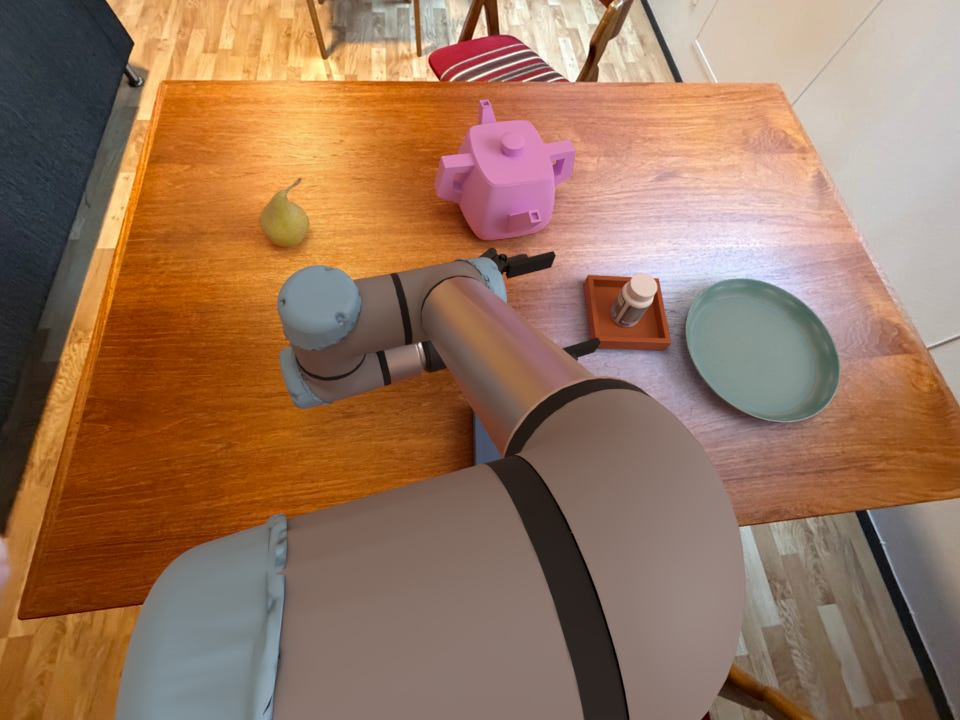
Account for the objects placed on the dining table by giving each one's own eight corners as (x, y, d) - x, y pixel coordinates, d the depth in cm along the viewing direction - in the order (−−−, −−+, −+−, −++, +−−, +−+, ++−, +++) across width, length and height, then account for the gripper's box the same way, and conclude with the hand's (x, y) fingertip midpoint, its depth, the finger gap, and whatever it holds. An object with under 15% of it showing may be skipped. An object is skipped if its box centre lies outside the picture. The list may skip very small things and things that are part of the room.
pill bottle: (644, 314, 86) (666, 284, 78) (627, 333, 84) (649, 304, 76) (620, 296, 87) (639, 265, 79) (603, 314, 85) (621, 284, 77)
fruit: (262, 226, 86) (240, 169, 75) (310, 215, 88) (295, 159, 77) (271, 259, 83) (250, 205, 73) (320, 248, 85) (307, 194, 75)
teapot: (474, 152, 98) (484, 77, 84) (567, 194, 96) (593, 123, 82) (423, 226, 89) (425, 155, 76) (524, 273, 88) (544, 209, 74)
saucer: (718, 445, 78) (730, 438, 75) (652, 303, 88) (660, 292, 85) (856, 409, 83) (872, 401, 80) (779, 278, 93) (791, 267, 90)
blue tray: (561, 494, 73) (566, 490, 70) (474, 494, 71) (476, 490, 69) (554, 412, 78) (558, 405, 75) (473, 410, 76) (474, 404, 74)
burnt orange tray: (664, 350, 84) (671, 343, 82) (590, 348, 83) (595, 340, 80) (652, 287, 89) (658, 278, 87) (583, 283, 88) (587, 274, 85)
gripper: (388, 279, 74) (530, 244, 79) (449, 448, 64) (606, 396, 70) (385, 244, 67) (541, 208, 72) (453, 428, 58) (627, 371, 63)
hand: (573, 300), depth 71 cm, fingers open, 13 cm apart
